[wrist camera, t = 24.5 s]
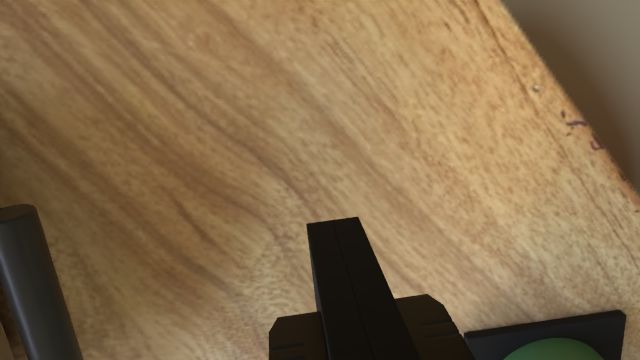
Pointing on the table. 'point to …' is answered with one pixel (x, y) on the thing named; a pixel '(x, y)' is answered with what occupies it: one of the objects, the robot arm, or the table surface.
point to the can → (555, 350)
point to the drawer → (33, 289)
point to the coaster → (553, 335)
